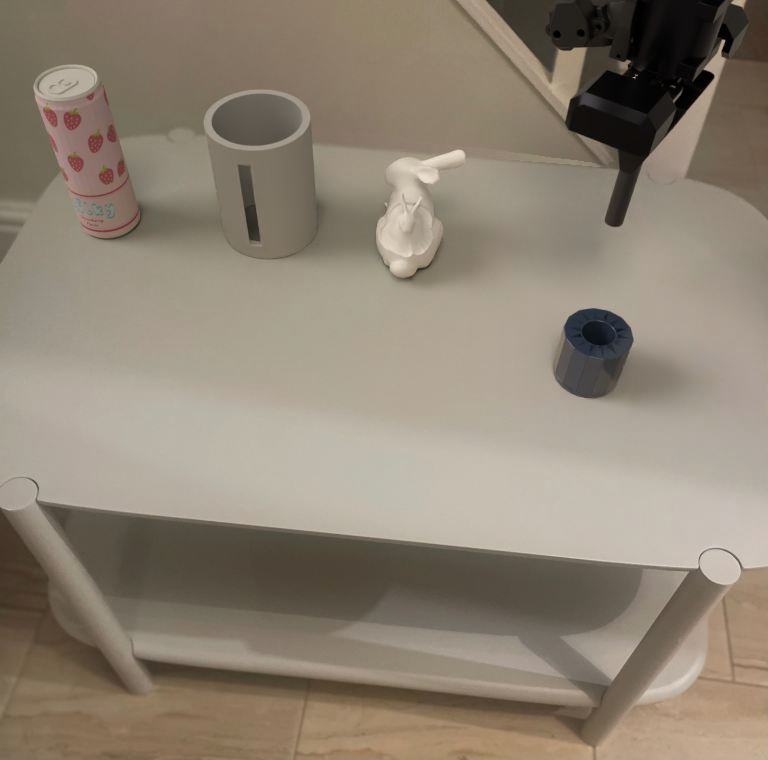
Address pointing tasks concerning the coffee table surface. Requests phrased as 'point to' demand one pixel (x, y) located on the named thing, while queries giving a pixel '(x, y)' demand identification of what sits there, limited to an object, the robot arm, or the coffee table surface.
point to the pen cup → (592, 352)
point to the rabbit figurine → (412, 213)
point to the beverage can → (87, 149)
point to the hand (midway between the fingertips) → (631, 165)
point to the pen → (621, 198)
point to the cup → (263, 170)
